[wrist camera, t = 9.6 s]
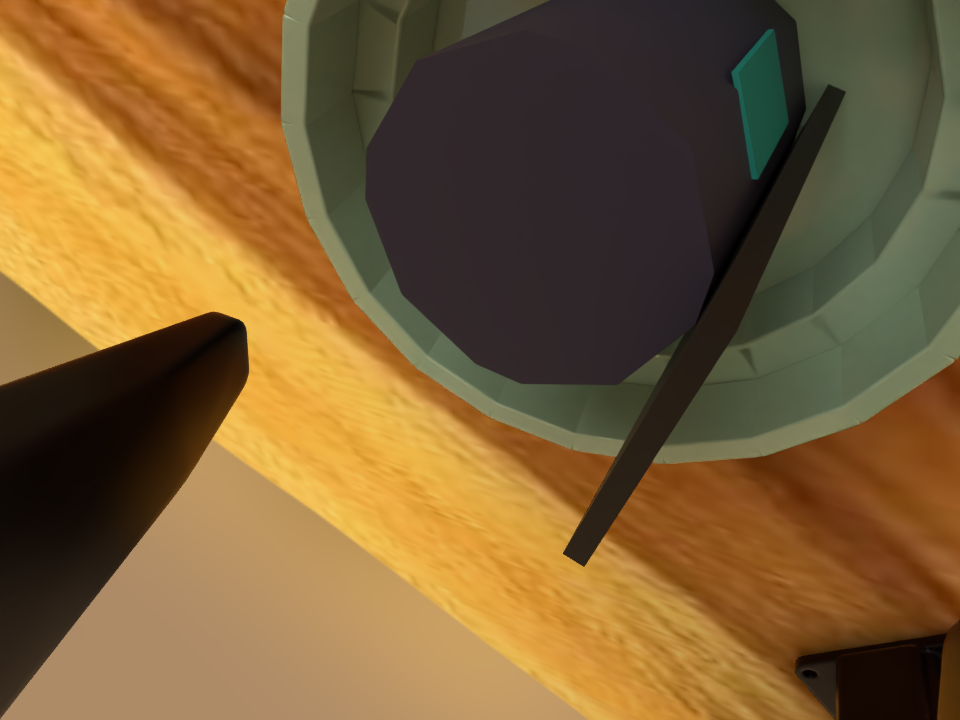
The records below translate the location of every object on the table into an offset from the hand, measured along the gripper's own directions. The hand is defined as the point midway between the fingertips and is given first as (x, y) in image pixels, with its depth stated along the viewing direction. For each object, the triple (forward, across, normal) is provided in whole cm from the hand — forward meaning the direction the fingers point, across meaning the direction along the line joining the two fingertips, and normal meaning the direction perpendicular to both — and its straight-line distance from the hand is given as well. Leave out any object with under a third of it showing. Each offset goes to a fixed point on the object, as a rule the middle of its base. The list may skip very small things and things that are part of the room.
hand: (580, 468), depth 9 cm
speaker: (+12, +1, 0) cm, 12 cm away
